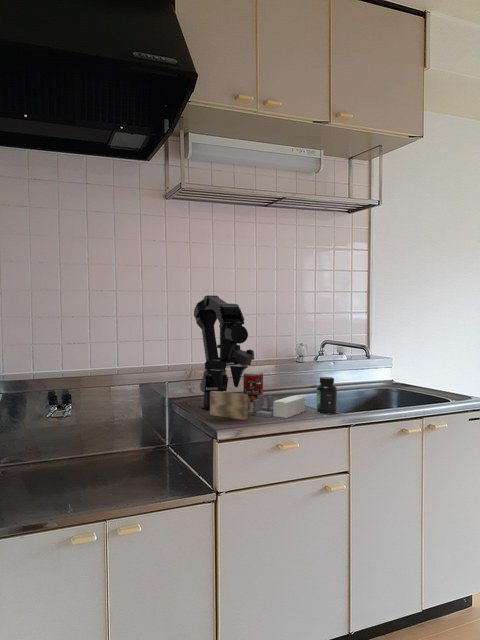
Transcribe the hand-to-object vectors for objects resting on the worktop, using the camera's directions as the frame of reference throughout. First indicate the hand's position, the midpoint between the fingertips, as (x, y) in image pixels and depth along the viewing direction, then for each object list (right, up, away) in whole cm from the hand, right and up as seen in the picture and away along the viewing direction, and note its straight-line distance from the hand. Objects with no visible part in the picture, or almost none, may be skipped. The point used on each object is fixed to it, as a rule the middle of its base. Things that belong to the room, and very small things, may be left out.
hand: (228, 388), depth 165 cm
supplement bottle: (+34, -9, +7) cm, 36 cm away
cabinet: (+16, -9, +7) cm, 19 cm away
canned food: (+9, -9, +31) cm, 34 cm away
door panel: (0, -9, 0) cm, 9 cm away
